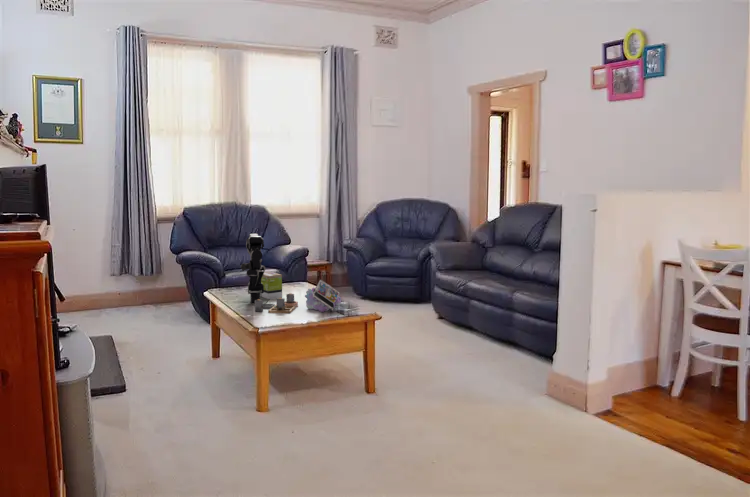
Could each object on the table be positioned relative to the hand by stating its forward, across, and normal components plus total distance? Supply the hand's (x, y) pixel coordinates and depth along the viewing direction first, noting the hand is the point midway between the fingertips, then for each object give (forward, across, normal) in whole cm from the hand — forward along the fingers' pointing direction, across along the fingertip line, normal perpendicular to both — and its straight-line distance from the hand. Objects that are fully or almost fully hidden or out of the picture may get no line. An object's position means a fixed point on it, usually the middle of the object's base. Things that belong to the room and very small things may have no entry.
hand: (256, 285), depth 365 cm
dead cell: (+12, -3, +19) cm, 23 cm away
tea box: (+13, -34, -1) cm, 37 cm away
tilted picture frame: (+13, +1, +39) cm, 41 cm away
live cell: (+12, +12, +17) cm, 24 cm away
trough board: (+13, +9, +17) cm, 23 cm away
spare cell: (+13, +13, +5) cm, 19 cm away
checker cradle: (+13, +2, +8) cm, 15 cm away
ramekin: (+13, -3, +19) cm, 23 cm away
